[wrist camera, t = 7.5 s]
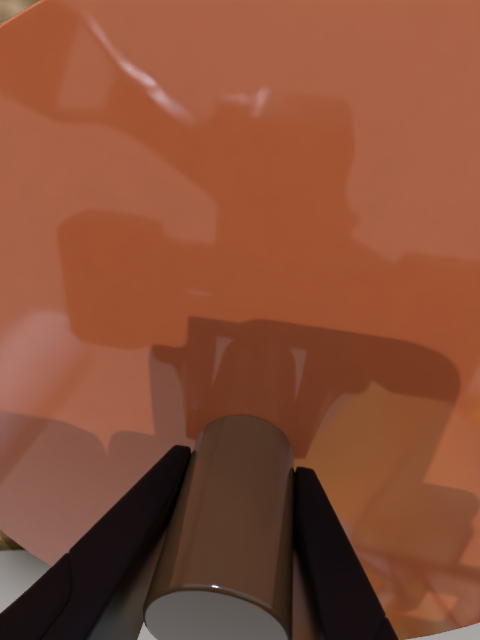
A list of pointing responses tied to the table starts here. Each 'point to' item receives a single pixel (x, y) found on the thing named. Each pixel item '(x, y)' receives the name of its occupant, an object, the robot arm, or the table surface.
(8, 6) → the table surface
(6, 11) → the table surface
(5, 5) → the table surface
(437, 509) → the lid
